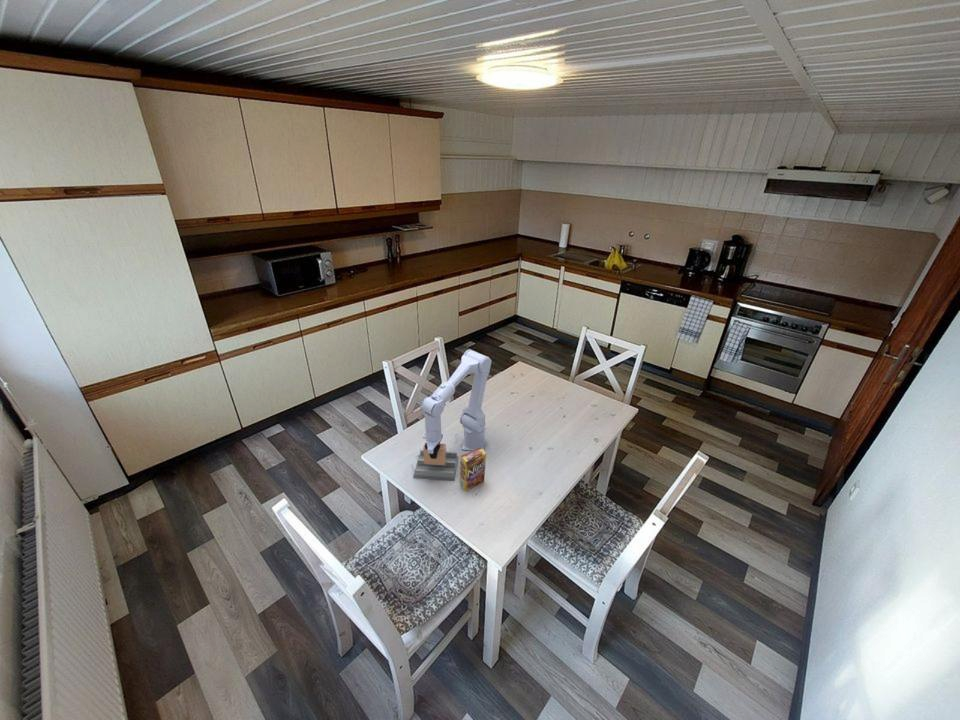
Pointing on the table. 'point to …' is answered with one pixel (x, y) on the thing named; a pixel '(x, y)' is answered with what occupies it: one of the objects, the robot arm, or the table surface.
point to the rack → (437, 468)
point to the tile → (440, 456)
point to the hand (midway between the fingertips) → (434, 454)
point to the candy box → (472, 468)
